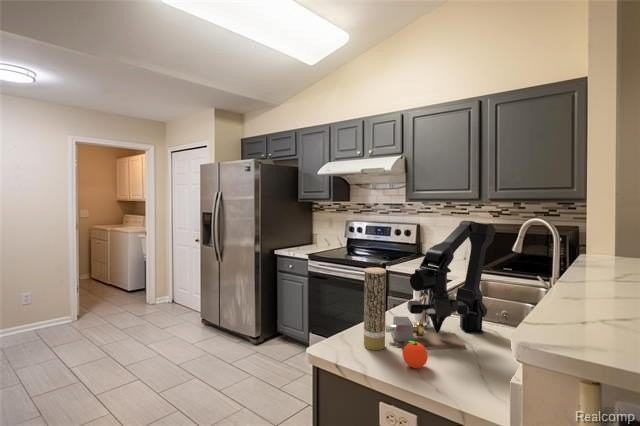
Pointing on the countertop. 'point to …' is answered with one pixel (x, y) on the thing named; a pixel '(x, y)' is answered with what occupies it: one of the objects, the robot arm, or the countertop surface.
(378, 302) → the brown patterned cylinder
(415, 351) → the clementine
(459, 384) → the countertop surface
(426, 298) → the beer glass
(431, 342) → the base board
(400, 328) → the bearing block
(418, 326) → the shaft
